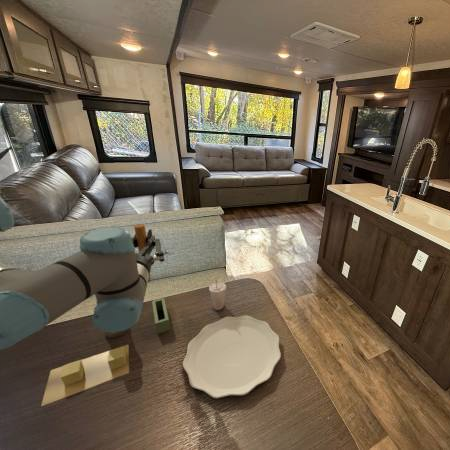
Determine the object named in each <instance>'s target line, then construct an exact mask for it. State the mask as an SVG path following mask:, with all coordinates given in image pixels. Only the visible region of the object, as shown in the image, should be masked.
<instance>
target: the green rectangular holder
mask: <svg viewBox="0 0 450 450" xmlns="http://www.w3.org/2000/svg"><path fill="white" fill-rule="evenodd" d="M151 304H152V311H153V319H154V325H155V330H156V334H157V335H159V334H163V333H165V332H168V331H170V330H171V324H170V319H169V315H168V310H167V309H168V308H167V305H166V300H165V297H162V298H158V299H154V300H151ZM160 311H162V312H163V317H164V318H163V319H159V315H158V312H160Z"/></svg>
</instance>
